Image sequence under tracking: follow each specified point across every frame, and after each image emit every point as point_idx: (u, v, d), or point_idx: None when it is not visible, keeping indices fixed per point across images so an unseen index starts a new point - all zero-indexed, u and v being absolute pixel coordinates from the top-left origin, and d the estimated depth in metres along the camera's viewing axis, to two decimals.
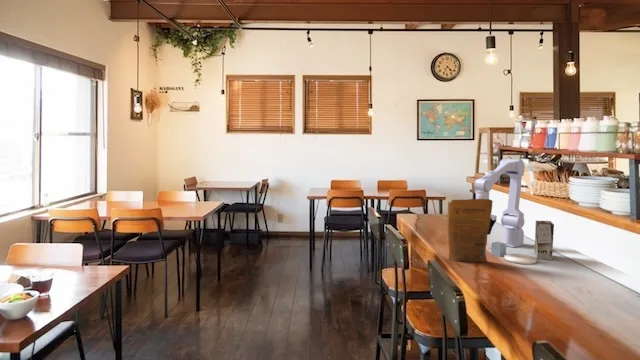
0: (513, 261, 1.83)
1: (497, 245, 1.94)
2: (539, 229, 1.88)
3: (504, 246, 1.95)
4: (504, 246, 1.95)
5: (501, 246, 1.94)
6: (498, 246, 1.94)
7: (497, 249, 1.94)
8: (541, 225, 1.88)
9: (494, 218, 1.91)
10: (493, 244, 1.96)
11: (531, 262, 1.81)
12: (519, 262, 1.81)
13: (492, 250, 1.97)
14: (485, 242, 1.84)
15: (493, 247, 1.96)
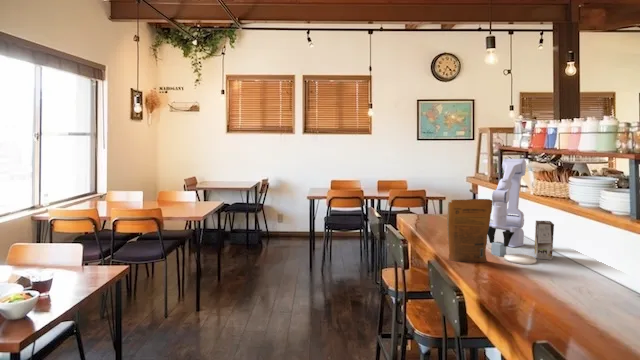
0: (513, 261, 1.83)
1: (497, 245, 1.94)
2: (539, 229, 1.88)
3: (504, 246, 1.95)
4: (504, 246, 1.95)
5: (501, 246, 1.94)
6: (498, 246, 1.94)
7: (497, 249, 1.94)
8: (541, 225, 1.88)
9: (512, 230, 1.89)
10: (493, 244, 1.96)
11: (531, 262, 1.81)
12: (519, 262, 1.81)
13: (492, 250, 1.97)
14: (485, 242, 1.84)
15: (493, 247, 1.96)
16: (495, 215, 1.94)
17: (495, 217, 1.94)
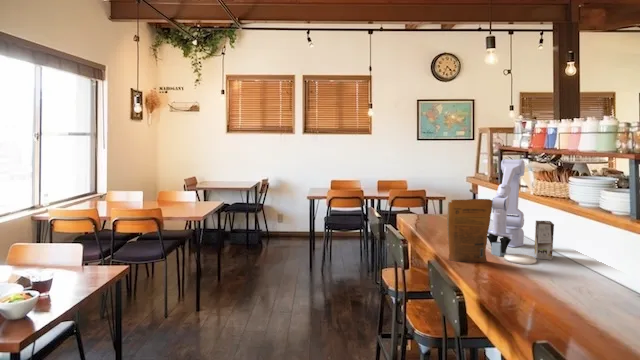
0: (513, 261, 1.83)
1: (497, 245, 1.94)
2: (539, 229, 1.88)
3: None
4: None
5: None
6: (498, 246, 1.94)
7: (497, 249, 1.94)
8: (541, 225, 1.88)
9: (512, 237, 1.89)
10: (493, 244, 1.96)
11: (531, 262, 1.81)
12: (519, 262, 1.81)
13: (492, 250, 1.97)
14: (485, 242, 1.84)
15: (493, 247, 1.96)
16: (495, 222, 1.94)
17: (495, 224, 1.94)
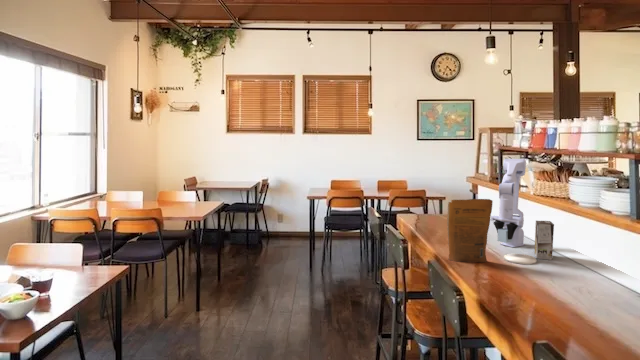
0: (513, 261, 1.83)
1: (503, 231, 1.91)
2: (539, 229, 1.88)
3: None
4: None
5: (507, 232, 1.90)
6: (504, 232, 1.90)
7: (503, 235, 1.91)
8: (541, 225, 1.88)
9: (519, 223, 1.86)
10: (499, 230, 1.93)
11: (531, 262, 1.81)
12: (519, 262, 1.81)
13: (498, 237, 1.93)
14: (485, 242, 1.84)
15: (499, 234, 1.93)
16: (502, 208, 1.90)
17: (501, 210, 1.91)
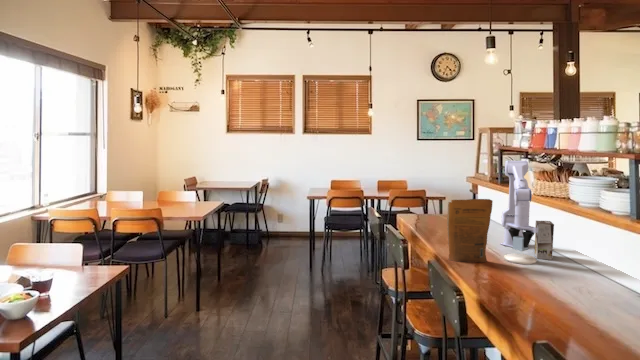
0: (513, 261, 1.83)
1: (519, 239, 1.84)
2: (539, 229, 1.88)
3: None
4: None
5: (523, 240, 1.84)
6: (520, 240, 1.84)
7: (519, 243, 1.84)
8: (541, 225, 1.88)
9: (536, 231, 1.79)
10: (515, 238, 1.86)
11: (531, 262, 1.81)
12: (519, 262, 1.81)
13: (513, 245, 1.87)
14: (485, 242, 1.84)
15: (515, 241, 1.86)
16: (519, 215, 1.83)
17: (517, 217, 1.84)
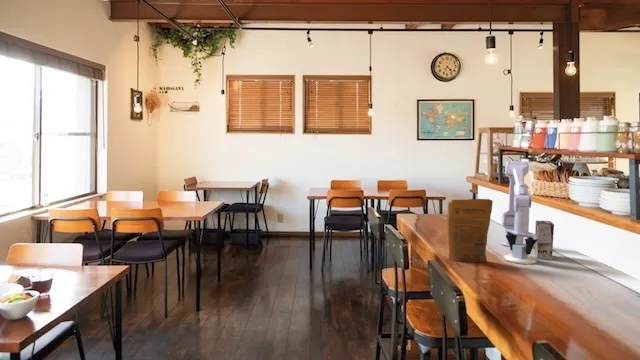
0: (513, 261, 1.83)
1: (518, 247, 1.85)
2: (539, 229, 1.88)
3: None
4: (525, 249, 1.85)
5: (523, 248, 1.84)
6: (520, 248, 1.84)
7: (518, 252, 1.85)
8: (541, 225, 1.88)
9: (535, 237, 1.80)
10: (514, 246, 1.86)
11: (531, 262, 1.81)
12: (519, 262, 1.81)
13: (513, 253, 1.87)
14: (485, 242, 1.84)
15: (514, 250, 1.87)
16: (519, 222, 1.83)
17: (517, 223, 1.84)
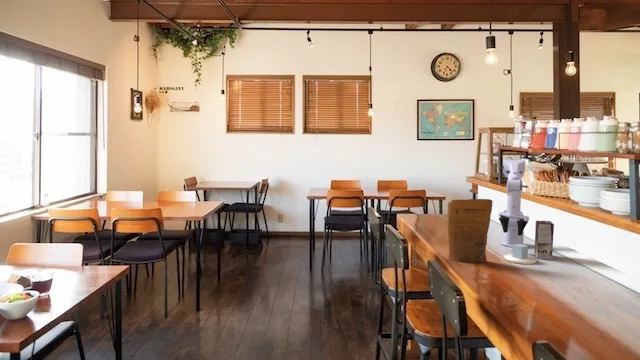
0: (513, 261, 1.83)
1: (518, 247, 1.85)
2: (539, 229, 1.88)
3: (526, 248, 1.85)
4: (525, 249, 1.85)
5: (523, 249, 1.84)
6: (520, 249, 1.84)
7: (518, 252, 1.85)
8: (541, 225, 1.88)
9: (527, 219, 1.90)
10: (514, 246, 1.86)
11: (531, 262, 1.81)
12: (519, 262, 1.81)
13: (513, 253, 1.87)
14: (485, 242, 1.84)
15: (514, 250, 1.87)
16: (510, 205, 1.94)
17: (509, 206, 1.95)
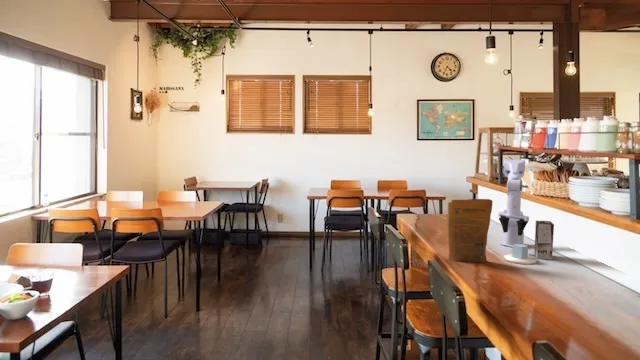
0: (513, 261, 1.83)
1: (518, 247, 1.85)
2: (539, 229, 1.88)
3: (526, 248, 1.85)
4: (525, 249, 1.85)
5: (523, 249, 1.84)
6: (520, 249, 1.84)
7: (518, 252, 1.85)
8: (541, 225, 1.88)
9: (527, 219, 1.90)
10: (514, 246, 1.86)
11: (531, 262, 1.81)
12: (519, 262, 1.81)
13: (513, 253, 1.87)
14: (485, 242, 1.84)
15: (514, 250, 1.87)
16: (510, 205, 1.94)
17: (509, 206, 1.95)
